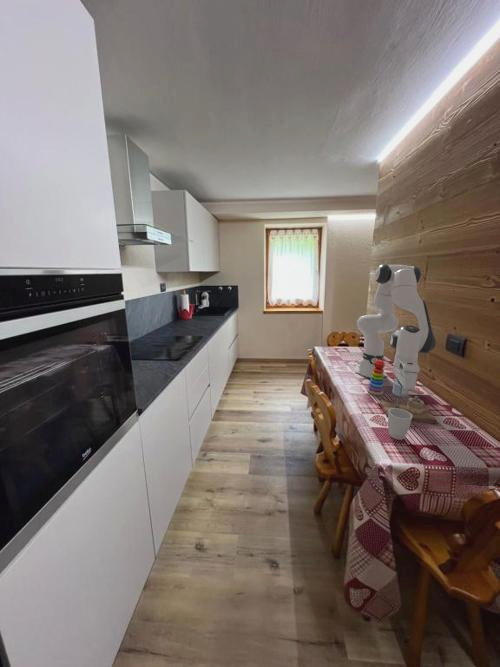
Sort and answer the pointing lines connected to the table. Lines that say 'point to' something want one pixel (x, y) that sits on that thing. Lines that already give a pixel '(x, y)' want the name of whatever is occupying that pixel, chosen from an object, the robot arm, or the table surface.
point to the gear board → (414, 416)
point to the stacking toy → (376, 379)
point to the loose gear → (398, 389)
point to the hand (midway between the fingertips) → (400, 390)
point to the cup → (398, 423)
